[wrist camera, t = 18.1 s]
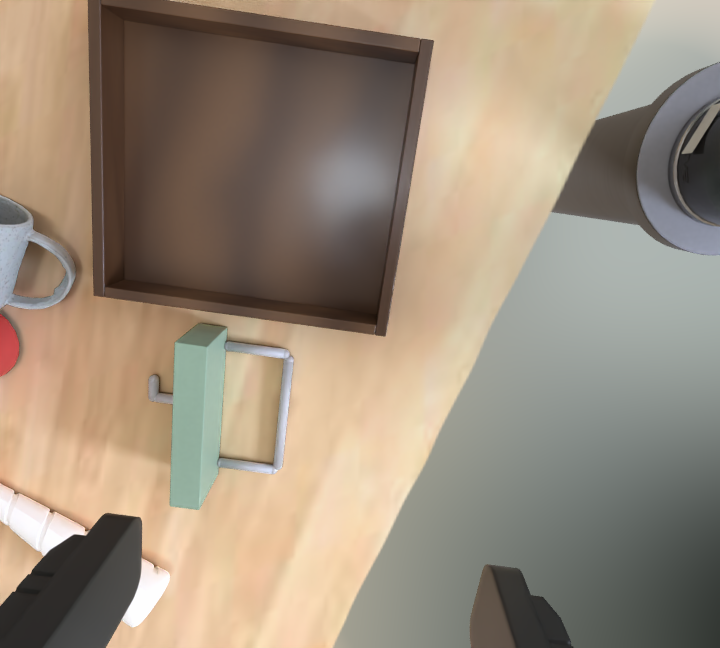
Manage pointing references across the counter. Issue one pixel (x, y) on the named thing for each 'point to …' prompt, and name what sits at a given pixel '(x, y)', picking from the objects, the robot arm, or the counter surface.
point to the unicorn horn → (55, 528)
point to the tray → (250, 161)
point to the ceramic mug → (7, 248)
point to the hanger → (209, 412)
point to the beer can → (7, 346)
